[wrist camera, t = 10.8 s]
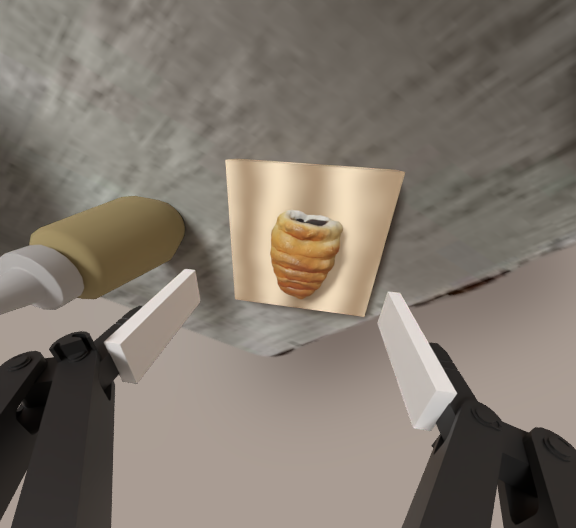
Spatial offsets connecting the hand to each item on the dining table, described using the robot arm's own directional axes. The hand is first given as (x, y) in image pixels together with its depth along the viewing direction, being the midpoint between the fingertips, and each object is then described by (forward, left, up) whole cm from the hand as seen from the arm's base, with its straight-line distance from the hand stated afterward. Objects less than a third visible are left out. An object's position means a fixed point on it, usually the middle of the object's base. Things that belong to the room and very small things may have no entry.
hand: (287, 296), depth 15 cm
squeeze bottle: (-18, 0, -12) cm, 21 cm away
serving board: (0, 0, -12) cm, 12 cm away
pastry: (+1, 0, -9) cm, 9 cm away
